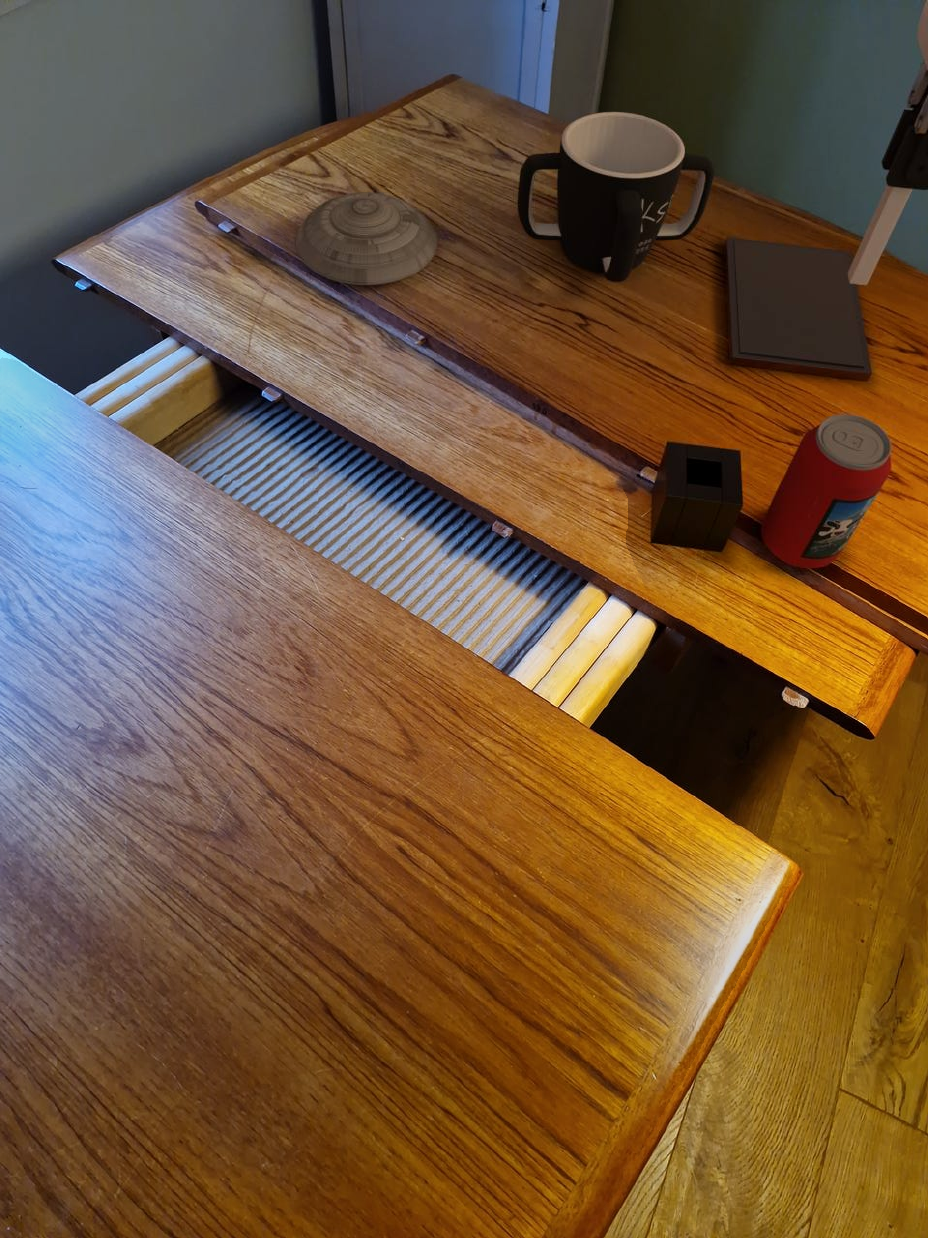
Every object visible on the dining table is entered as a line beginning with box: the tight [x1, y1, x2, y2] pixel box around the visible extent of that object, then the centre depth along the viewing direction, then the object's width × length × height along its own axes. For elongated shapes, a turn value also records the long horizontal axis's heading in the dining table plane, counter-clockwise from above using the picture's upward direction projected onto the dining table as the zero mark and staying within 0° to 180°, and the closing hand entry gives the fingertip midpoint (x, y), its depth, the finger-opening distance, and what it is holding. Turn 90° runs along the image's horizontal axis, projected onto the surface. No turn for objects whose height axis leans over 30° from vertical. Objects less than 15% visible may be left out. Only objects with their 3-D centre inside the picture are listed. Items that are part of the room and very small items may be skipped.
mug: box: [517, 111, 715, 283], centre depth 92 cm, size 16×16×12 cm
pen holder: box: [649, 440, 744, 554], centre depth 74 cm, size 6×6×6 cm
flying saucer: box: [294, 191, 439, 286], centre depth 93 cm, size 15×15×6 cm
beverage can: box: [760, 413, 892, 569], centre depth 70 cm, size 7×7×12 cm
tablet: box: [723, 236, 873, 382], centre depth 92 cm, size 14×20×1 cm
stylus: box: [848, 95, 928, 286], centre depth 66 cm, size 1×1×14 cm
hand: (905, 176), depth 64 cm, fingers closed on stylus, 1 cm apart
